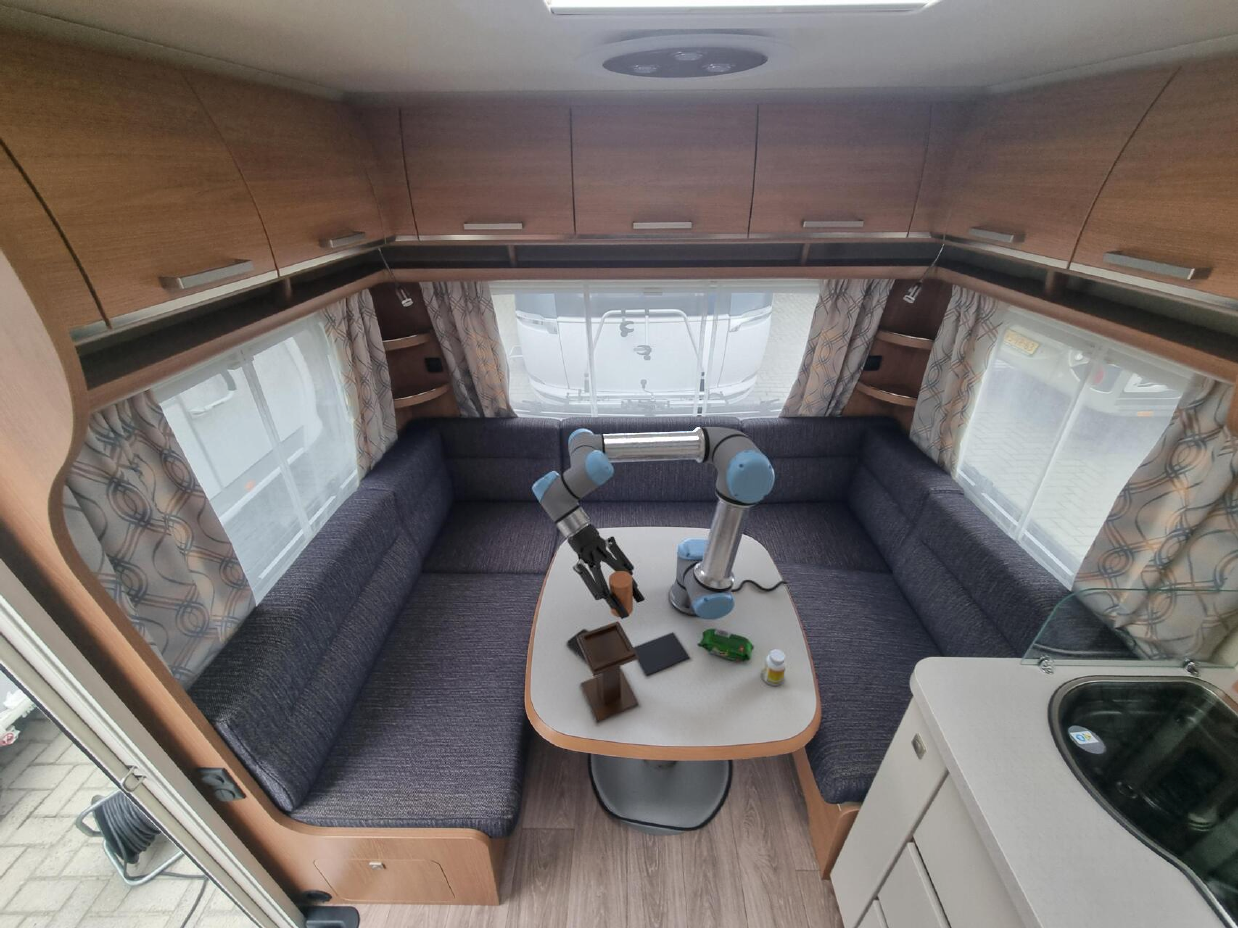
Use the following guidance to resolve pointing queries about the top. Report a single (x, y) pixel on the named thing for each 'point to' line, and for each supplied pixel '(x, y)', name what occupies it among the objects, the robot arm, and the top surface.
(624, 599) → the tin
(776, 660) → the supplement bottle
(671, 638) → the mat
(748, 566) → the top surface
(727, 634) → the snack package
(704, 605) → the robot arm
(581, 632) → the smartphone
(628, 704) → the stand
